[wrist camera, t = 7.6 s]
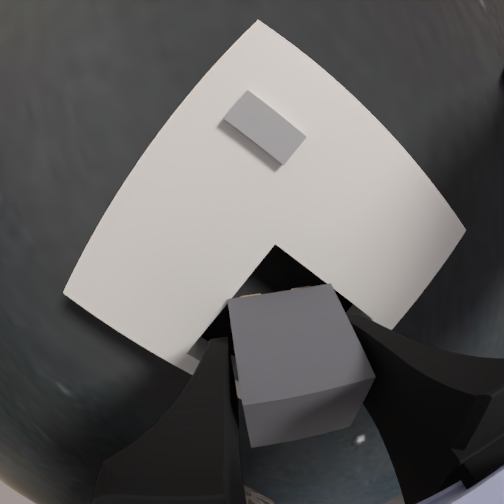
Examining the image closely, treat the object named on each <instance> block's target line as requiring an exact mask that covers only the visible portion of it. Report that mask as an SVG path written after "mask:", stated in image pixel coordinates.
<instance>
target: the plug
mask: <svg viewBox="0 0 504 504" xmlns="http://www.w3.org/2000/svg"><path fill="white" fill-rule="evenodd" d="M227 300H228V307H229V315H230V322H231V329H232V336H233V344H234V351H235V358H236V364H237V371H238V378H239V384H240V391H241V398H242V404H243V409H244V414H245V419H246V424H247V429H248V434H249V439H250V444H251V448H253V447H260V446H266V445H272V444H278V443H283V442H288V441H293V440H298V439H303V438H307V437H312V436H316V435H320V434H324V433H328V432H332V431H336V430H340V429H343V428H347V427H350V426H351V424H352V422H353V421H354V419H355V417H356V415H357V413H358V411H359V409H360V407H361V405H362V404H363V402H364V400H365V398H366V396H367V394H368V392H369V390H370V388H371V385H372V383H373V381H374V379H375V374H374V372H373V370H372V368H371V366H370V363H369V361H368V359H367V357H366V355H365V353H364V350H363V348H362V346H361V344H360V342H359V340H358V338H357V336H356V334H355V331H354V329H353V327H352V325H351V323H350V321H349V319H348V317H347V315H346V313H345V311H344V309H343V307H342V305H341V303H340V301H339V299H338V297H337V295H336V293H335V291H334V289H333V287H332V285H331V283H330V284H324V285H318V286H312V287H311V286H305V287H299V288H292V289H291V290H287V291H280V292H274V293H267V294H261V293H259V294H252V295H245V296H240V297H239V298H232V299H227Z"/></svg>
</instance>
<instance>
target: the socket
mask: <svg viewBox="0 0 504 504" xmlns="http://www.w3.org/2000/svg"><path fill="white" fill-rule="evenodd" d="M465 232H466V229H465V227H464V226H463V224H462V223H461V222H460V220H459V219H458V217H457V216H456V214H455V213H454V211H453V210H452V209H451V207H450V206H449V204H448V203H447V202H446V200H445V199H444V198H443V196H442V195H441V194H440V192H439V191H438V190H437V188H436V187H435V186H434V184H433V183H432V182H431V180H430V179H429V178H428V177H427V175H426V174H425V173H424V172H423V170H422V169H421V168H420V167H419V166H418V164H417V163H416V162H415V161H414V160H413V158H412V157H411V156H410V155H409V154H408V153H407V151H406V150H405V149H404V148H403V147H402V146H401V145H400V143H399V142H398V141H397V140H396V139H395V138H394V137H393V136H392V135H391V134H390V132H389V131H388V130H387V129H386V128H385V127H384V126H383V125H382V124H381V123H380V122H379V121H378V120H377V119H376V118H375V117H374V116H373V115H372V114H371V113H370V112H369V111H368V110H367V109H366V108H365V107H364V106H363V105H362V104H361V103H360V102H359V101H358V100H357V99H356V98H355V97H354V96H353V95H352V94H351V93H350V92H349V91H347V90H346V89H345V88H344V87H343V86H342V85H341V84H340V83H339V82H338V81H336V80H335V79H334V78H333V77H332V76H331V75H330V74H328V73H327V72H326V71H325V70H324V69H323V68H321V67H320V66H319V65H318V64H317V63H315V62H314V61H313V60H312V59H311V58H309V57H308V56H307V55H306V54H304V53H303V52H302V51H300V50H299V49H298V48H297V47H295V46H294V45H293V44H291V43H290V42H289V41H287V40H286V39H285V38H283V37H282V36H281V35H279V34H278V33H276V32H275V31H274V30H272V29H271V28H269V27H268V26H267V25H265V24H264V23H262V22H261V21H259V20H257V21H256V22H255V23H254V24H253V25H252V26H251V27H250V28H249V29H248V30H247V31H246V32H245V33H244V34H243V35H242V36H241V37H240V38H239V39H238V40H237V41H236V42H235V43H234V44H233V45H232V46H231V47H230V48H229V49H228V51H227V52H226V53H225V54H224V55H223V56H222V57H221V58H220V59H219V60H218V61H217V62H216V63H215V65H214V66H213V67H212V68H211V69H210V70H209V71H208V72H207V74H206V75H205V76H204V77H203V78H202V79H201V80H200V82H199V83H198V84H197V85H196V86H195V87H194V89H193V90H192V91H191V92H190V93H189V95H188V96H187V97H186V98H185V99H184V101H183V102H182V103H181V104H180V106H179V107H178V108H177V109H176V111H175V112H174V113H173V114H172V116H171V117H170V118H169V120H168V121H167V122H166V124H165V125H164V126H163V128H162V129H161V130H160V132H159V133H158V134H157V136H156V137H155V138H154V140H153V141H152V142H151V144H150V145H149V147H148V148H147V149H146V151H145V152H144V154H143V155H142V157H141V158H140V159H139V161H138V162H137V164H136V165H135V167H134V168H133V170H132V171H131V173H130V174H129V176H128V177H127V179H126V180H125V182H124V183H123V185H122V186H121V188H120V190H119V191H118V193H117V194H116V196H115V198H114V199H113V201H112V202H111V204H110V206H109V207H108V209H107V211H106V212H105V214H104V216H103V217H102V219H101V221H100V223H99V224H98V226H97V228H96V229H95V231H94V233H93V235H92V237H91V238H90V240H89V242H88V244H87V246H86V248H85V249H84V251H83V253H82V255H81V257H80V259H79V261H78V263H77V265H76V267H75V269H74V271H73V273H72V275H71V277H70V279H69V281H68V283H67V285H66V287H65V289H64V291H63V294H65V295H66V296H67V297H69V298H70V299H72V300H73V301H74V302H76V303H77V304H78V305H80V306H81V307H83V308H84V309H85V310H87V311H88V312H90V313H91V314H93V315H94V316H95V317H97V318H98V319H100V320H101V321H103V322H104V323H106V324H107V325H109V326H110V327H112V328H113V329H115V330H116V331H118V332H120V333H121V334H123V335H124V336H126V337H127V338H129V339H131V340H132V341H134V342H135V343H137V344H139V345H140V346H142V347H144V348H145V349H147V350H149V351H150V352H152V353H154V354H155V355H157V356H159V357H161V358H162V359H164V360H166V361H168V362H169V363H171V364H173V365H175V366H177V367H178V368H180V369H182V370H184V371H186V372H188V373H189V374H191V375H193V374H194V372H195V370H196V368H197V366H198V364H199V362H200V360H201V358H202V356H203V354H204V352H205V349H206V347H207V344H208V341H207V340H205V339H203V338H202V337H200V336H201V335H202V334H203V333H204V331H205V330H206V329H207V328H208V326H209V325H210V324H211V323H212V322H213V320H214V319H215V318H216V317H217V315H218V314H219V313H220V312H221V311H222V309H223V308H224V307H225V306H226V304H227V303H228V300H227V299H231V298H232V297H233V296H234V295H235V293H236V292H237V291H238V290H239V288H240V287H241V286H242V285H243V284H244V282H245V281H246V280H247V279H248V277H249V276H250V275H251V274H252V272H253V271H254V270H255V269H256V267H257V266H258V265H259V264H260V263H261V261H262V260H263V259H264V258H265V256H266V255H267V254H268V253H269V251H270V250H271V249H272V248H273V246H274V245H277V246H278V247H279V248H281V249H282V250H283V251H285V252H286V253H287V254H289V255H290V256H291V257H293V258H294V259H295V260H297V261H298V262H299V263H301V264H302V265H303V266H305V267H306V268H307V269H308V270H310V271H311V272H312V273H314V274H315V275H316V276H318V277H319V278H320V279H322V280H323V281H324V282H325V283H327V284H330V283H331V285H332V287H333V289H335V290H336V291H337V292H338V293H340V294H341V295H342V296H344V297H345V298H346V299H348V300H349V301H350V302H351V303H353V305H352V306H351V307H350V308H349V310H348V311H347V312H346V315H347V317H348V316H352V315H357V314H358V315H361V316H363V317H365V318H368V319H370V320H372V321H374V322H376V323H378V324H380V325H382V326H384V327H386V328H388V329H390V330H392V329H393V328H394V327H395V325H396V324H397V323H398V322H399V321H400V320H401V318H402V317H403V316H404V315H405V314H406V312H407V311H408V310H409V309H410V307H411V306H412V305H413V304H414V303H415V301H416V300H417V299H418V297H419V296H420V295H421V294H422V292H423V291H424V290H425V288H426V287H427V286H428V285H429V283H430V282H431V281H432V279H433V278H434V277H435V275H436V274H437V272H438V271H439V270H440V268H441V267H442V266H443V264H444V263H445V261H446V260H447V258H448V257H449V256H450V254H451V253H452V251H453V250H454V248H455V247H456V245H457V244H458V242H459V241H460V239H461V238H462V236H463V235H464V233H465ZM231 360H232V366H233V371H234V377H235V384H236V391H237V398H240V399H242V398H241V391H240V384H239V378H238V371H237V364H236V358H235V356H233V355H231Z"/></svg>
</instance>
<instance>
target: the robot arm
mask: <svg viewBox="0 0 504 504" xmlns="http://www.w3.org/2000/svg"><path fill="white" fill-rule="evenodd" d="M348 319H349V321H350V323H351V325H352V327H353V329H354V331H355V334H356V336H357V338H358V340H359V342H360V344H361V346H362V348H363V350H364V353H365V355H366V357H367V359H368V361H369V363H370V366H371V368H372V370H373V372H374V374H375V379H374V381H373V383H372V385H371V388H370V390H369V392H368V394H367V396H366V398H365V400H364V402H363V404H364V406H365V407H366V409H367V411H368V412H369V414H370V416H371V417H372V419H373V421H374V422H375V424H376V426H377V428H378V430H379V432H380V435H381V437H382V439H383V441H384V444H385V446H386V448H387V451H388V454H389V456H390V459H391V461H392V464H393V467H394V469H395V472H396V475H397V478H398V481H399V484H400V488H401V491H402V494H403V498H404V502H405V504H504V359H496V358H483V357H474V356H468V355H462V354H457V353H452V352H448V351H444V350H441V349H438V348H434V347H431V346H428V345H425V344H422V343H420V342H417V341H415V340H412V339H410V338H408V337H405V336H403V335H401V334H399V333H396V332H394V331H392V330H390V329H388V328H386V327H384V326H382V325H380V324H378V323H376V322H374V321H372V320H370V319H368V318H365V317H363V316H361V315H358V314H357V315H352V316H348ZM92 504H247V502H246V496H245V490H244V484H243V477H242V470H241V464H240V453H239V419H238V398H237V391H236V384H235V377H234V371H233V366H232V360H231V354H230V348H229V342H228V337H222V338H214V339H210V340H209V341H208V344H207V347H206V349H205V352H204V354H203V356H202V358H201V360H200V362H199V364H198V366H197V368H196V370H195V372H194V374H193V376H192V377H191V379H190V380H189V382H188V384H187V385H186V387H185V388H184V390H183V391H182V393H181V394H180V396H179V397H178V398H177V400H176V401H175V402H174V403H173V405H172V406H171V407H170V408H169V409H168V411H167V412H166V413H165V414H164V415H163V416H162V417H161V418H160V419H159V420H158V421H157V422H156V423H155V424H154V425H153V426H152V427H151V428H150V429H149V430H148V431H146V432H145V433H144V434H143V435H142V436H141V437H139V438H138V439H137V440H135V441H134V442H133V443H131V444H130V445H129V446H127V447H126V448H124V449H123V450H121V451H119V452H118V453H116V454H115V455H113V456H111V457H110V458H108V459H106V460H104V461H103V464H102V467H101V469H100V471H99V474H98V477H97V480H96V485H95V489H94V493H93V498H92Z"/></svg>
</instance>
